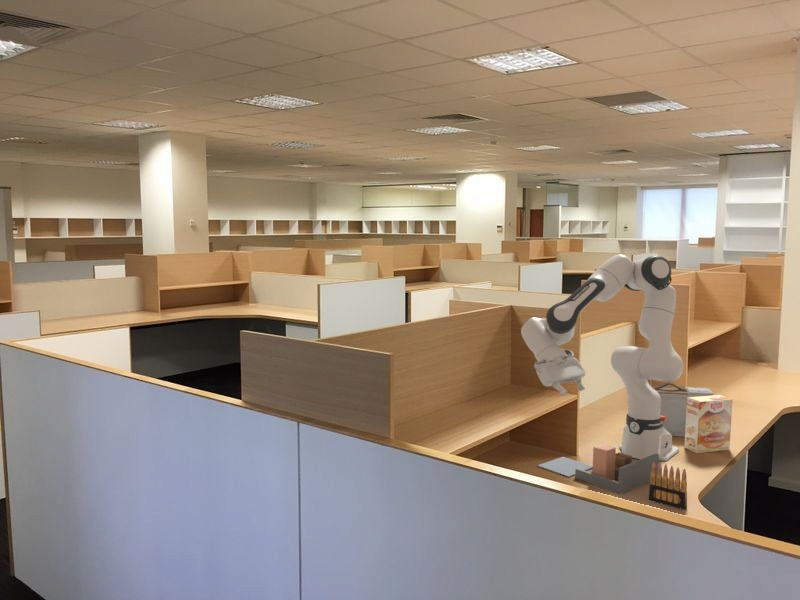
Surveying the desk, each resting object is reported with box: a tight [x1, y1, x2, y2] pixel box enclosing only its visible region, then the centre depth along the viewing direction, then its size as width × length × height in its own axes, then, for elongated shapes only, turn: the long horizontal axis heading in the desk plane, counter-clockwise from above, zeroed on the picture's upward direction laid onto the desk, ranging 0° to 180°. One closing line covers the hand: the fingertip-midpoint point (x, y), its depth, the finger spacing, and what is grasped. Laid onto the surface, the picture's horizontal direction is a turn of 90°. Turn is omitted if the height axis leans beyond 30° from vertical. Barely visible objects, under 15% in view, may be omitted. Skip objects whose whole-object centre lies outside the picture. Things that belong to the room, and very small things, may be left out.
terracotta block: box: [592, 443, 617, 481], centre depth 214 cm, size 5×5×11 cm
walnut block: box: [615, 452, 633, 469], centre depth 221 cm, size 5×5×6 cm
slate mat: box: [537, 456, 593, 478], centre depth 227 cm, size 14×13×1 cm
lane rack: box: [574, 454, 660, 495], centre depth 216 cm, size 21×17×8 cm
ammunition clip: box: [647, 462, 688, 511], centre depth 196 cm, size 11×2×12 cm, turn 50°
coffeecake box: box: [684, 394, 733, 454], centre depth 245 cm, size 15×7×20 cm, turn 106°
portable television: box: [649, 379, 714, 437], centre depth 265 cm, size 12×24×30 cm, turn 78°
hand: (573, 392), depth 222 cm, fingers open, 8 cm apart
